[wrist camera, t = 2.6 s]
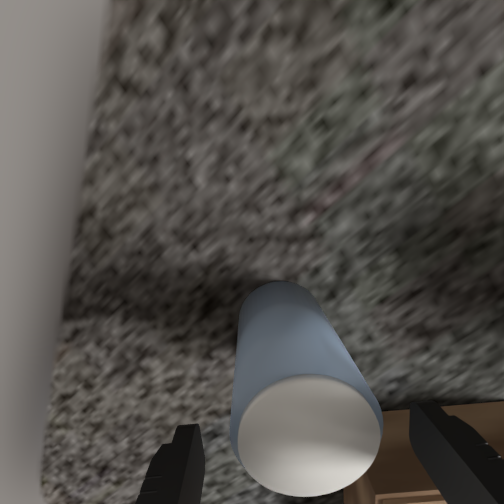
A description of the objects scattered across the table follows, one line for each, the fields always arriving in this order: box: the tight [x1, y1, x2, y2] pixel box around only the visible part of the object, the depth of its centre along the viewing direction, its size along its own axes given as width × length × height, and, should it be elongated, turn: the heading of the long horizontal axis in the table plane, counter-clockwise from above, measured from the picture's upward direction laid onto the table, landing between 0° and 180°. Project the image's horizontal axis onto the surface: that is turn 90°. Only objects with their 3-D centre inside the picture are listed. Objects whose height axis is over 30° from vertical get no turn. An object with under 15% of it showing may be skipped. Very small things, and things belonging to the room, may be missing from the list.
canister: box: [230, 281, 383, 497], centre depth 13 cm, size 5×5×8 cm
